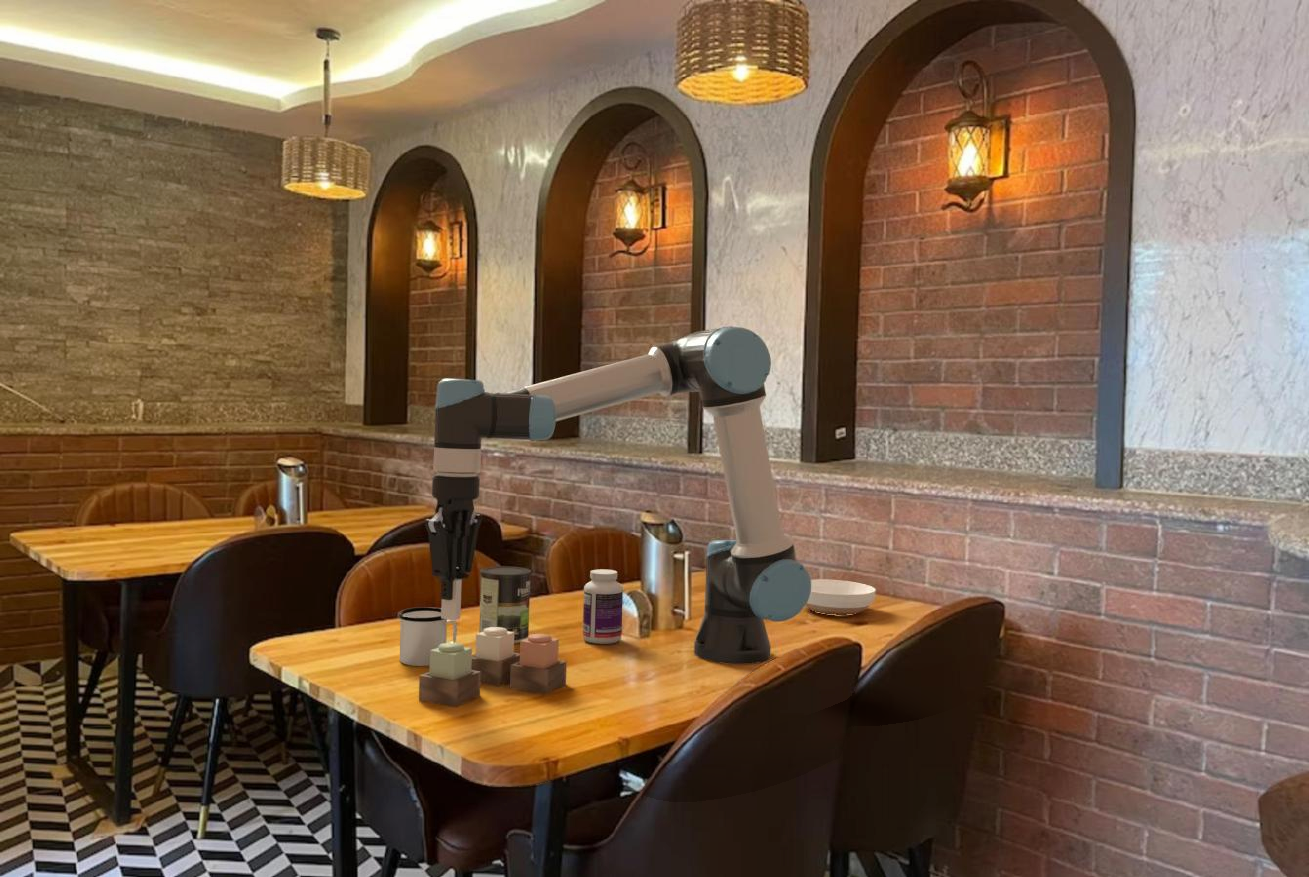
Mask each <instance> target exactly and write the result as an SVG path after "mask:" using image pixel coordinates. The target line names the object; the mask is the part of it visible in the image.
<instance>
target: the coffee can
mask: <svg viewBox="0 0 1309 877" xmlns="http://www.w3.org/2000/svg"><path fill="white" fill-rule="evenodd" d="M531 576H532V570H531V569H529V568H526V567H519V566H505V565H504V566H489V567H485V568H482V569H480V598H479V626H478V627H479V631H478V633H481V632H484V629H485V628H490V627H501V628H505V629H507V631H510V632H514V645H516V644H520V641H522V640H524V639H527V638H528V636H529V635H530V634H529V633H530V632H529V631H530V630H529V629H530V628H529V627H530V601H531V600H530V597H531Z"/></svg>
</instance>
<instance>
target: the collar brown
mask: <svg viewBox="0 0 1309 877" xmlns="http://www.w3.org/2000/svg"><path fill="white" fill-rule="evenodd" d="M566 684H567V661H566V660H561V659H558V663H557V664H555V665H553V666H551V667H549V668H547V669H540V668H534V667H528V666H522V665H520V661H518V662H516V663H514V664H511V667H510V682H509V689H513V690H519V691H524V692H529V693H534V694H541V695H544V696H545V695H547V694H550V693H551V692H554V691H555V690H557V689H559V688H561V687H563V686H565V685H566Z"/></svg>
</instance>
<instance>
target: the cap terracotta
mask: <svg viewBox="0 0 1309 877" xmlns="http://www.w3.org/2000/svg"><path fill="white" fill-rule="evenodd" d="M559 641H560V639H559V638H556V637H555V638H554V637H552V635H550V634H548V633H547V634H546V633H534V634H529V635H528V638H527V639H524V640H522V641H520V643H519V654H520V665H522V666H528V667H534V668H540V669H547V668H549V667H551V666H553V665H555V664H557V663H558V660H559V646H560V644H559V643H560V642H559Z"/></svg>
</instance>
